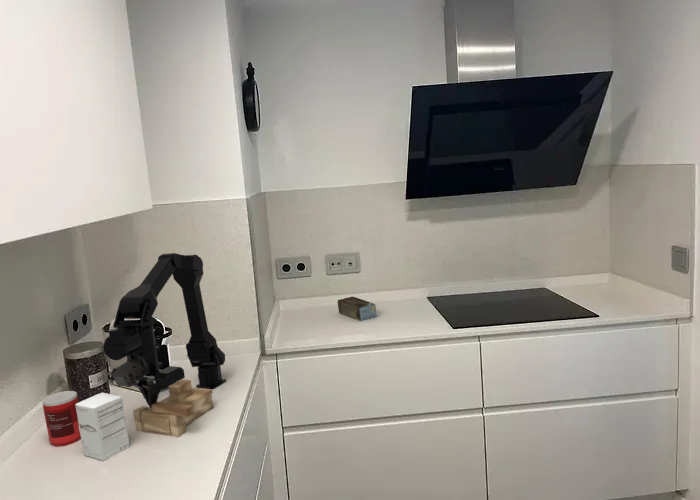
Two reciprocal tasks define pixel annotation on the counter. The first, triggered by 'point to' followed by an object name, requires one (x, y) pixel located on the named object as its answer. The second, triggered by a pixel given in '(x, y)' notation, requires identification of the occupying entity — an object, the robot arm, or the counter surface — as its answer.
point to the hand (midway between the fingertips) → (152, 407)
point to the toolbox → (171, 419)
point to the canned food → (62, 418)
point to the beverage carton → (357, 308)
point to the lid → (180, 397)
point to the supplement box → (102, 426)
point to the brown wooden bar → (172, 408)
